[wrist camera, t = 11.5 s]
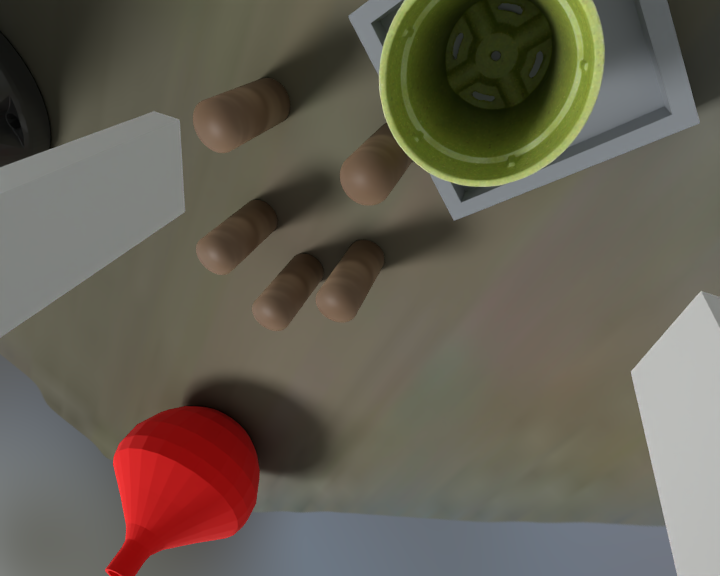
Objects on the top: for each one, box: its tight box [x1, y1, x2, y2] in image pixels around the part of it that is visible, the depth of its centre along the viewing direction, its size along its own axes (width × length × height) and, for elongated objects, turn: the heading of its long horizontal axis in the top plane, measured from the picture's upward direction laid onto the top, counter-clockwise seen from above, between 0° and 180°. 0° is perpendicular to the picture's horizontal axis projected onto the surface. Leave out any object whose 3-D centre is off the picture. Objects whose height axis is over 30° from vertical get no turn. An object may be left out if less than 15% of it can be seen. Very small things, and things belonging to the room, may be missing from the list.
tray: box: [348, 0, 700, 221], centre depth 25 cm, size 14×14×2 cm
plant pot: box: [379, 0, 605, 187], centre depth 23 cm, size 9×9×9 cm
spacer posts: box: [193, 78, 413, 331], centre depth 33 cm, size 17×17×7 cm
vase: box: [105, 406, 260, 576], centre depth 54 cm, size 18×18×19 cm
